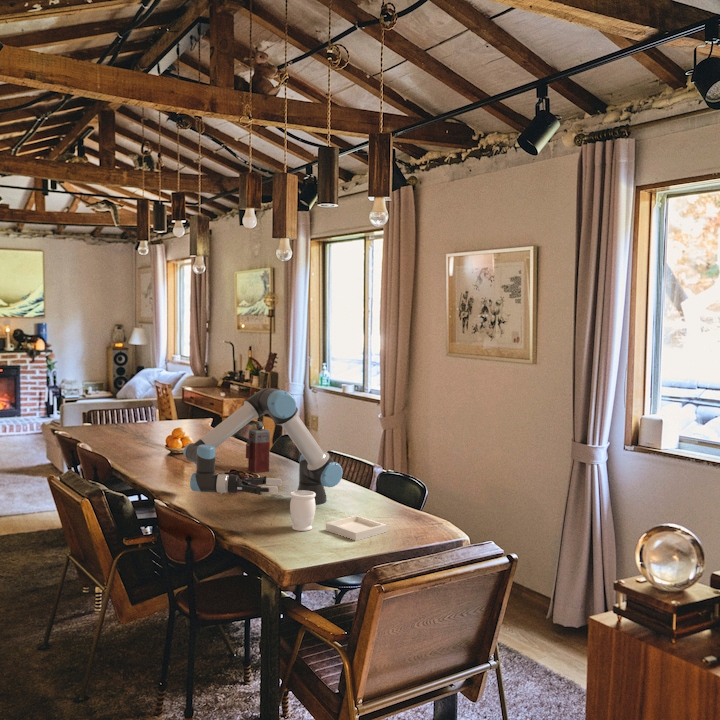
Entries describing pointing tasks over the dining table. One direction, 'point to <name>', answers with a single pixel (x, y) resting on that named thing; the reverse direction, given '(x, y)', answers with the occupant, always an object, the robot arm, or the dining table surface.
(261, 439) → the toy vending machine
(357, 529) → the white square tray
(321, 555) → the dining table surface
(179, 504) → the dining table surface
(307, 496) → the jar
